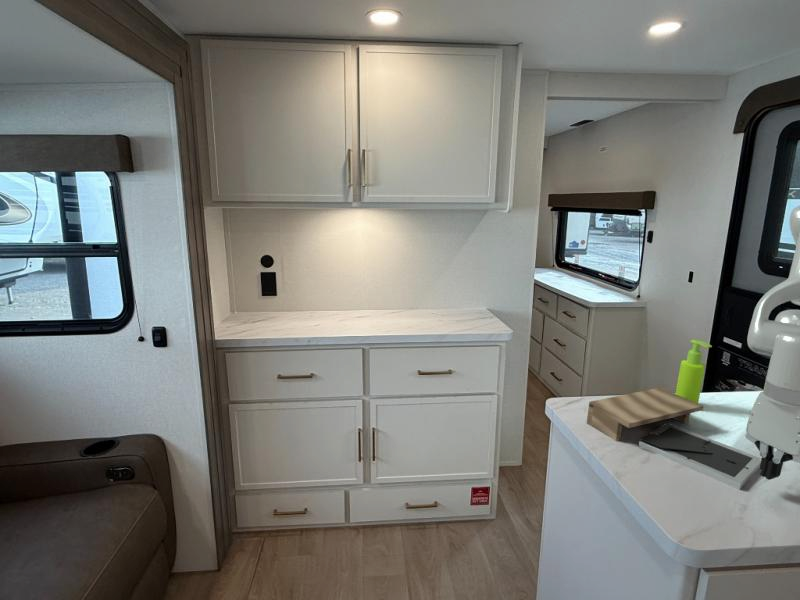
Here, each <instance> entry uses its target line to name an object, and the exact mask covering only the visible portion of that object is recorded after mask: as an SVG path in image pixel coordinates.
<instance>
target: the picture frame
mask: <svg viewBox="0 0 800 600" xmlns="http://www.w3.org/2000/svg"><path fill="white" fill-rule="evenodd" d="M638 447H639V448H642V449H643V450H646V449H647V451H648V450H649V452H651V451H652V452H651V453H653V452H655V453H657V454H656V455H658V454H660V455H662V456H664V457H663V458H665V457H666V458H665V459H667V458H669V459H671V460H670V461H672V460H673V461H672V462H674V461H675V462H674V463H676V462H677V463H676V464H678V465H681V466H684V467H685V466H686V468H688V469H690V470H693V471H695V472H697V473H700V474H702V475H704V476H706V477H709V478H711V479H712V480H713V479H714V480H716V481H719V482H721V483H722V484H725V485H727V486H730V487H732V488H733V489H734V488H735V489H737V490H739V491H740V489H742V488H743V487H744V485H746V483H747V482H748V481H749V480H750V479H751V478H752V476H753V475H754V474H755V473H756V472H757V471H758V470H760V464H761V460H762V457H759V456H756V455H754V454H751V453H749V452H746V451H743V450H741V449H738V448H735V447H733V446H730V445H728V444H725V443H722V442H719V441H718V440H717V441H716V440H714V439H711V438H709V437H707V436H703V435H700V434H698V433H695V432H694V431H690V430H687V429H685V428H682V427H680V426H676V425H675V424H672V423H668V422H667V423H665V424H663V425H662V426H659V428H657V429H655V430H654V431H653V432H648V433H646V434H644V435H643V436H641V437H640V438H639V441H638ZM655 453H654V454H655ZM660 455H659V456H660ZM662 456H661V457H662ZM669 459H668V460H669Z"/></svg>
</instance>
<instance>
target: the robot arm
mask: <svg viewBox="0 0 800 600" xmlns="http://www.w3.org/2000/svg"><path fill="white" fill-rule="evenodd" d="M789 228H790V232H791V236H792V238H793V241H794V245H795V251H794V254H793V259H792V263H791V266H790V269H789V275H788V278H787V279H785V280H784V281H782V282H780V283H779V284H776V285H775V286H773V287H772V288H771V289H769V290H767V292H765V293H764V294H763V296H762V297H761V298H760V299H759V301H758V302H757V304H756V306H755V307H754V310H753V314H752V318H751V321H750V324H749V328H748V334H747V338H746V340H747V346H748V348H749V349H750V350H751V351H752V352H754V353H756V354H760V355H764V356H767V357H770V360H769V364H768V369H767V373H766V377H765V383H764V387H763V391H761V392H760V393H759V394H758V395H757V397H756V399H755V402H754V403H753V406H752V408H751V411H750V413H749V416H748V419H747V424H746V430H745V431H746V434H745V439H747V441H750V442H751V443H752V444H754V445H755V447H756V448H757V449H758V452H759V456H760V458H762V460H761V464H760V467H759V470H760V474H759V475H760V476H761V477H762V478H765V479H767V480H768V481H769V480H773V479H775V478H779V477H780V476H781V473H782V468H783V465H784V463H785V462H789V461H792V462H794V463H799V464H800V309H787V310H782V311H780V312H779V313H778V314H777V315H776V317H775V318H774V320H770V319H769V316H770V314H771V313H772V310H774V309H775V308H776V307H778V306H780V305H781V304H785V303H787V302H791V303H792V304H794V305H797V306H800V205H798V206H796V207H794V208H793V209H792V211H791V212H790V214H789ZM775 449H776V452H775Z"/></svg>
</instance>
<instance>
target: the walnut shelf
mask: <svg viewBox="0 0 800 600" xmlns="http://www.w3.org/2000/svg"><path fill="white" fill-rule="evenodd" d="M703 409H704V405H702V404H699V403H698V404H697V403H695V402H693V401H690V400H688V399H686V398H683V397H681V396H679V395H676V393H674V392H671V391H669V390H667V389H665V388H662V387H657V388H652V389H651V388H650V389H645V390H641V391H637V392H631V393H627V394H621V395H617V396H611V397H606V398H601V399H596V400H592V401H589V402H588V409H587V419H586V424H587V425H589V426H590V427H592V428H594V429H595V430H597V431H599V432H601V433H602V434H603V435H605V436H607V437H609V438H611V440H613V441H615V442H616V441H620V440H621V436H622V428H623V426H624V427H626V428H628V429H631V428H636V427H639V426H642V425H647V424H651V423H655V422H660V421H663V420H664V421H665V420H668V419H671V418H673V419H675V420H677V421H679V422H681V423H683V424H687V423H689V420H690V415H691V414H692V413H697V412H700V411H703Z"/></svg>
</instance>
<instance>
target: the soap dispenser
mask: <svg viewBox="0 0 800 600" xmlns="http://www.w3.org/2000/svg"><path fill="white" fill-rule="evenodd" d="M689 342H690V343H693V344H692V347H691V348H692V349H690V350H688V351H687V352H688V353H687V357H686V359H684V360H681V362H680V366H679V372H678V377H677V384H676V389H675V394H676V395H679V396H681V397H683V398H686V399H688V400H690V401H693V402H695V403H697V404H699V401H700V395H701V390H702V384H703V381H704V380H703V379H704V374H705V370H706V369H705V368H706V365H705V364H704V363H702V357H703V352H702V351H700V348H701V346H702V347H704V348H706V349H707V348H712V347H713V346H712V345H711V344H709V343H708V342H706V341H703V340H700V339H690V341H689Z"/></svg>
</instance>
